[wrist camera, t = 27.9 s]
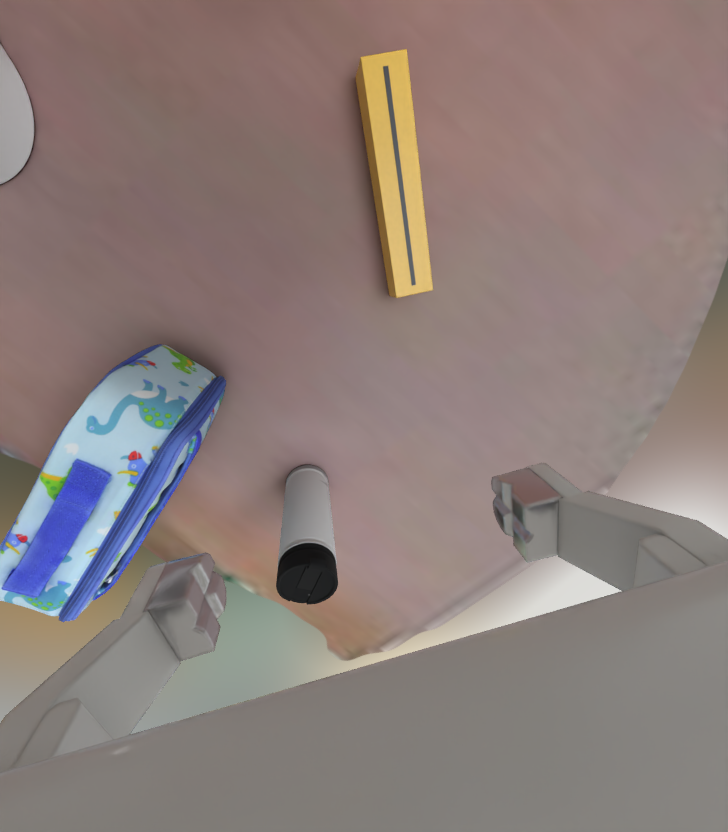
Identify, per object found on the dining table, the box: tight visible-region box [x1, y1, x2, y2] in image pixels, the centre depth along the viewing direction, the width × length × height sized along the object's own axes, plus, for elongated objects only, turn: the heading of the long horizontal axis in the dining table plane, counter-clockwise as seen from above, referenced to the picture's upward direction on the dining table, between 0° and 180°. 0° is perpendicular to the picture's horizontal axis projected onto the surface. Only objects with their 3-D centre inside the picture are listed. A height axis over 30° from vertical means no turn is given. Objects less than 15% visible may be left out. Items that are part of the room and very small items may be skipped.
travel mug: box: [276, 465, 338, 604], centre depth 45 cm, size 6×7×20 cm
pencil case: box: [356, 49, 433, 298], centre depth 40 cm, size 22×4×4 cm, turn 11°
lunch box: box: [0, 344, 226, 622], centre depth 38 cm, size 26×11×21 cm, turn 143°
